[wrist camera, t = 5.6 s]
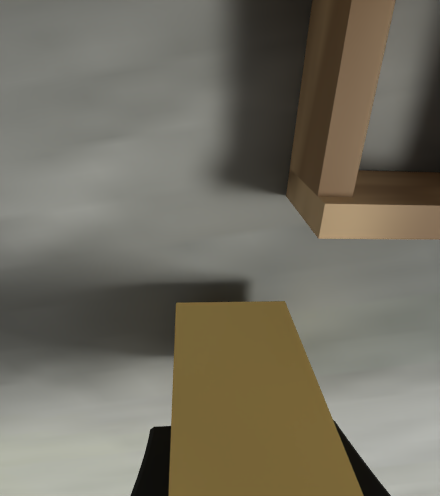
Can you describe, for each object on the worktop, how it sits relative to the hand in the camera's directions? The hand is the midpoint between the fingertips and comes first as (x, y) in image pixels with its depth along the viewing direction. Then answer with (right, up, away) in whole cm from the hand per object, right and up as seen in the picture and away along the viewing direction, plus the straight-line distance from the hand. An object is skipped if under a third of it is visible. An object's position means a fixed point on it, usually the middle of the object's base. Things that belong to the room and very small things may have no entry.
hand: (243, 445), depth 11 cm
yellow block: (0, +2, +4) cm, 4 cm away
